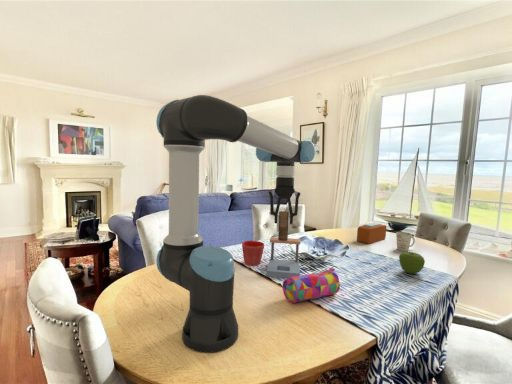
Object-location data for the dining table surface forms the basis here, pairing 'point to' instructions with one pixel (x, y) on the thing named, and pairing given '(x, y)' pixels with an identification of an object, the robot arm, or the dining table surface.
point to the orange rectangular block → (371, 233)
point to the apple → (411, 262)
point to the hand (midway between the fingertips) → (283, 231)
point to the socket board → (283, 261)
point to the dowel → (283, 226)
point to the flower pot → (252, 252)
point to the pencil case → (311, 286)
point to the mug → (404, 241)
